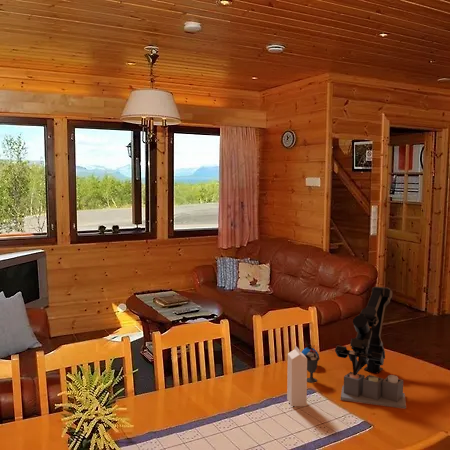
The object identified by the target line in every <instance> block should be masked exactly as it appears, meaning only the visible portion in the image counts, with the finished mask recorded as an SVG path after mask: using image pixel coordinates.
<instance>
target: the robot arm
mask: <svg viewBox="0 0 450 450" xmlns="http://www.w3.org/2000/svg"><path fill="white" fill-rule="evenodd" d="M370 293H371V295H370V297H369V299H368V302H367V305H366V307H365V308H362V309H361V311H360V313H359V314H358V315H356V316H355V317H354V318H353V319H352V324H353V327H354V329H355V332H356V337H354V338H351V339H350V346H349V347H350V348H351V349H350V350H349V349H348V348H347V346H346V345H345V346H344V345H336V346H335V349H334V351H335V354H336V356H337V357H338V358H343V359H346V358H349V361H350V362H351V363H352V365H351V366H352V372H353V374H354V375H356V374H359V372H360V371H361V369H362V368H363V370H364V371H367V372H371V373H374V374H379V373H380V372H381V371H383V369H384V368H383V367H381V366H384V361H385V359H386V350H385V348H384V343H383V341H382V339H381V335H382V330H383V324H384V323H383V322H384V316H385V311H386V307H387V306H388V305H389V304H390V303H391V299H392V298H393V290H391V288H390V287H384V286H374V287H372V288H371V292H370ZM364 366H365V367H364Z"/></svg>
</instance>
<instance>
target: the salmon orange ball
mask: <svg viewBox="0 0 450 450" xmlns="http://www.w3.org/2000/svg"><path fill="white" fill-rule="evenodd" d="M358 374H359V373H357V374H356V375H354V374H353V373H352V374H350V377H351V378H355V379H358V378H359V375H358Z"/></svg>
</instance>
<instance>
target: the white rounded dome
mask: <svg viewBox="0 0 450 450" xmlns="http://www.w3.org/2000/svg"><path fill="white" fill-rule="evenodd" d="M387 377H388V382H391V383H395V384H397V383H398V379H399V377H398V376H397V375H396V374H395V375H394V374H389V375H387Z"/></svg>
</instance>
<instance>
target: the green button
mask: <svg viewBox="0 0 450 450" xmlns="http://www.w3.org/2000/svg"><path fill="white" fill-rule="evenodd" d="M372 376H373V375H372ZM372 376H371V377H369V378H368V380H369V381H373V382H378V378H377V377H378V376H376V377H372Z"/></svg>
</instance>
